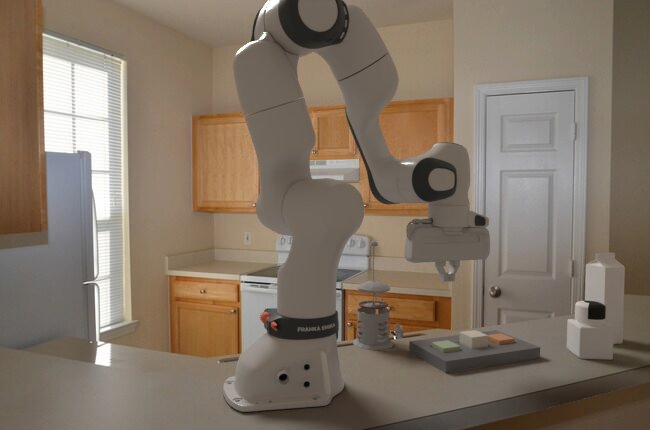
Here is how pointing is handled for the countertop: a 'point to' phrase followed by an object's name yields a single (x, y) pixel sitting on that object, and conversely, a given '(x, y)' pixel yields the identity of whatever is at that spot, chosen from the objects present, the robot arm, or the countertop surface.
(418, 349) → the button panel
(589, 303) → the medicine bottle
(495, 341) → the terracotta button
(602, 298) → the milk
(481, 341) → the cream button
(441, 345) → the sage button
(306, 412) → the countertop surface
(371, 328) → the french press
